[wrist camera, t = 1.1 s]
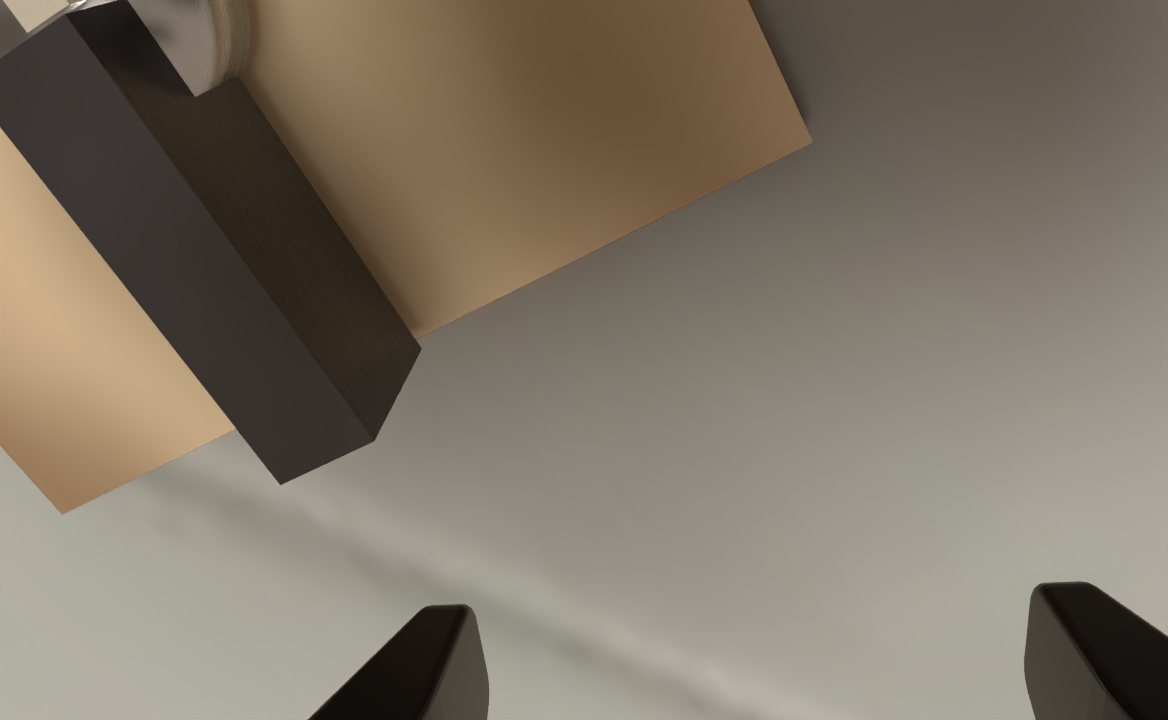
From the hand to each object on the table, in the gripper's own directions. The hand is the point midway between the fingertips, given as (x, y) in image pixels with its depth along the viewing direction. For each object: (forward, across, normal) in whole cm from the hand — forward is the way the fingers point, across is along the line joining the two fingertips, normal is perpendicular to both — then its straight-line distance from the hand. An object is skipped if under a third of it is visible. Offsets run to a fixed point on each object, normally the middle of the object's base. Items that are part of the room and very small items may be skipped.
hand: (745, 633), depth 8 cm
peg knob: (+10, +9, -5) cm, 14 cm away
